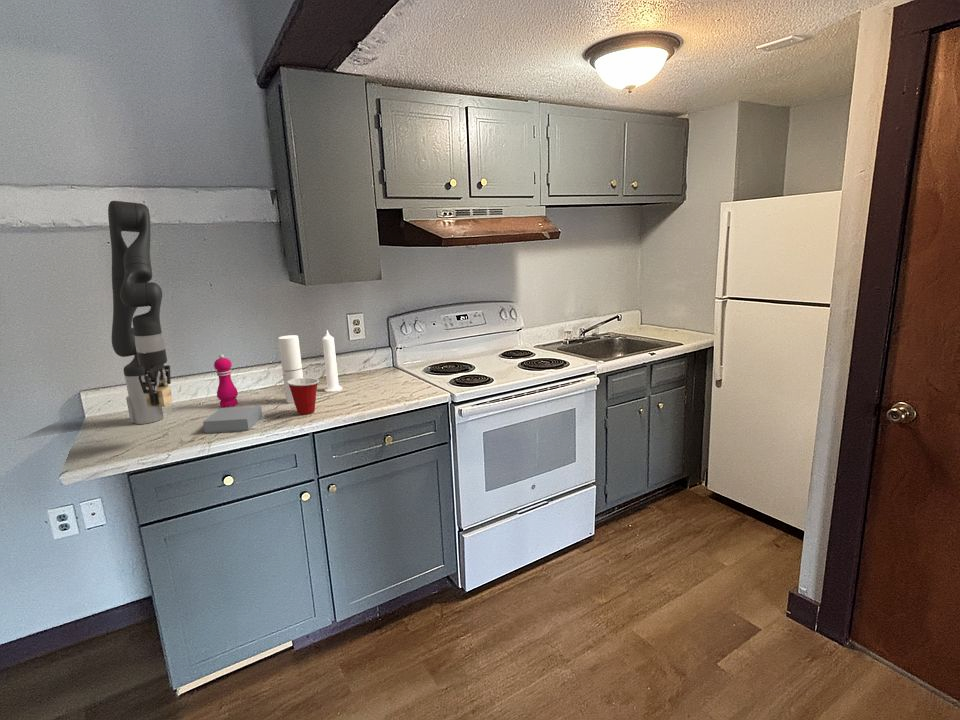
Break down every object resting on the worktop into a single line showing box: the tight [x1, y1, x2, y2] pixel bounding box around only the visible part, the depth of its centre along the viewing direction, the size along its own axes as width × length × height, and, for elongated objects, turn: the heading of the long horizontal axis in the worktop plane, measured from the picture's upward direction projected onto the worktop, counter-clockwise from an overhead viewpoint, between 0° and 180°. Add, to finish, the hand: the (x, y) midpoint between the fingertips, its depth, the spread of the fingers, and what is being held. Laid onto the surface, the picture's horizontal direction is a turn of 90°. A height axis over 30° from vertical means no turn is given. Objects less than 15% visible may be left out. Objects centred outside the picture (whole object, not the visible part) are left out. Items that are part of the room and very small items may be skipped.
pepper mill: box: [213, 353, 239, 408], centre depth 202 cm, size 7×7×20 cm
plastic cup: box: [287, 377, 320, 416], centre depth 191 cm, size 11×11×12 cm
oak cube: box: [146, 385, 174, 408], centre depth 166 cm, size 5×5×5 cm
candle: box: [321, 329, 343, 393], centre depth 217 cm, size 7×7×25 cm
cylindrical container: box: [277, 334, 304, 404], centre depth 204 cm, size 7×7×25 cm
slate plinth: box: [202, 405, 263, 434], centre depth 182 cm, size 14×14×4 cm
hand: (160, 402), depth 166 cm, fingers closed on oak cube, 5 cm apart
